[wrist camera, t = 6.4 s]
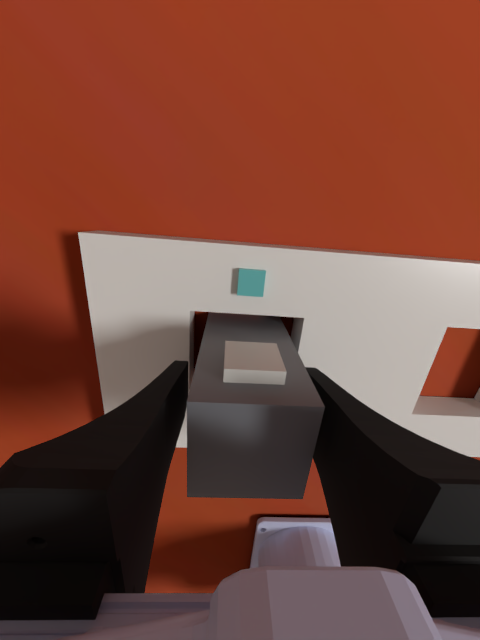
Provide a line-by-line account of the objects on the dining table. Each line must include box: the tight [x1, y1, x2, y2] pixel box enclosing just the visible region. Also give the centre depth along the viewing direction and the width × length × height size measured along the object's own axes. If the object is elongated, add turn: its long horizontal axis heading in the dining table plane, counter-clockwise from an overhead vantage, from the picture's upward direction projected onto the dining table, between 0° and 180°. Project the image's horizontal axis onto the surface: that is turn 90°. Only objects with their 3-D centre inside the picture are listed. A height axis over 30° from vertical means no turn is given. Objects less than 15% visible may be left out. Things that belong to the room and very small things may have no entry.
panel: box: [78, 231, 480, 457], centre depth 14 cm, size 12×28×2 cm, turn 86°
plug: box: [187, 312, 325, 499], centre depth 11 cm, size 4×4×8 cm
